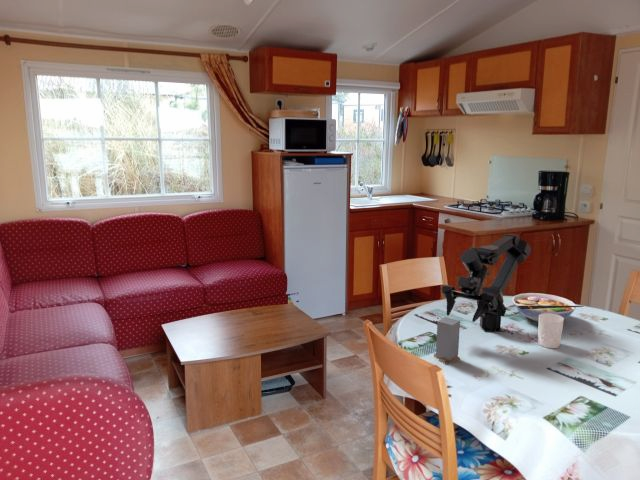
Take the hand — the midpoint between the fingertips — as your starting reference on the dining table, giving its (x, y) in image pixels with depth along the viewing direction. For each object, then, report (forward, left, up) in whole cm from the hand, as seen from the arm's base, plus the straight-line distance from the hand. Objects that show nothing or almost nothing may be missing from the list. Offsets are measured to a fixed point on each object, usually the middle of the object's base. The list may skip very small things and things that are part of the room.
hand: (460, 318), depth 169 cm
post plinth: (+6, +8, -11) cm, 15 cm away
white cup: (-32, -2, -11) cm, 34 cm away
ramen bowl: (-40, -25, -11) cm, 49 cm away
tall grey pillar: (+6, +8, -10) cm, 14 cm away
